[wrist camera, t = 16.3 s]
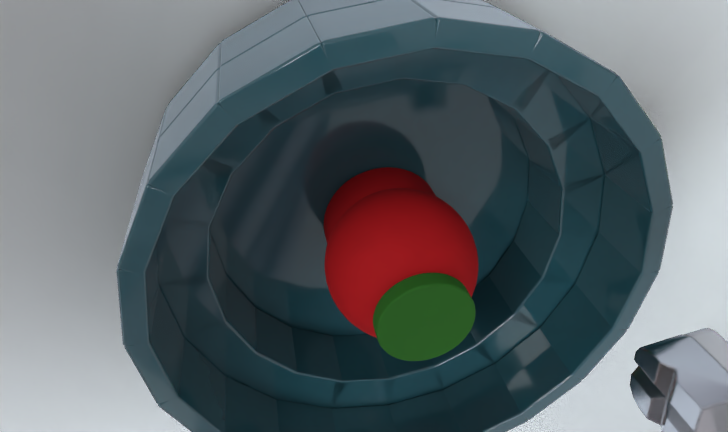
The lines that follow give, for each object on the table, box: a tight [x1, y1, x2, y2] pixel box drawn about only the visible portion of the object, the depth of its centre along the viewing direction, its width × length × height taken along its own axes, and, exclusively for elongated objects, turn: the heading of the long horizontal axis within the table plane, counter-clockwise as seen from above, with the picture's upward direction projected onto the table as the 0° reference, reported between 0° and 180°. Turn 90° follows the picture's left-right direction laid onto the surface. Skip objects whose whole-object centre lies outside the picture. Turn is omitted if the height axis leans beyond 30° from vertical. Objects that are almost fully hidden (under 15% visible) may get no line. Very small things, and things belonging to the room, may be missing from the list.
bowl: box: [117, 0, 673, 432], centre depth 16 cm, size 14×14×5 cm
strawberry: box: [324, 167, 478, 361], centre depth 16 cm, size 4×4×5 cm
